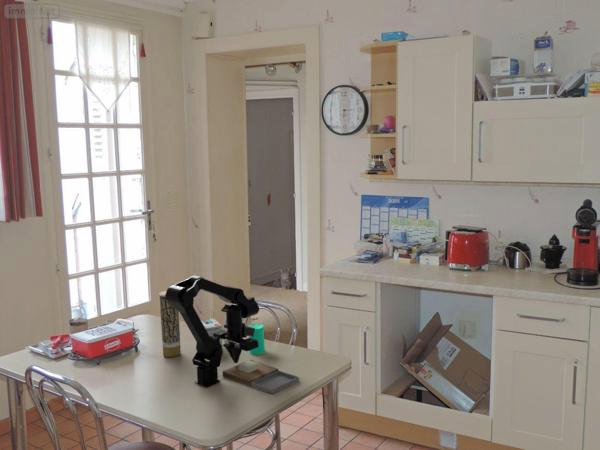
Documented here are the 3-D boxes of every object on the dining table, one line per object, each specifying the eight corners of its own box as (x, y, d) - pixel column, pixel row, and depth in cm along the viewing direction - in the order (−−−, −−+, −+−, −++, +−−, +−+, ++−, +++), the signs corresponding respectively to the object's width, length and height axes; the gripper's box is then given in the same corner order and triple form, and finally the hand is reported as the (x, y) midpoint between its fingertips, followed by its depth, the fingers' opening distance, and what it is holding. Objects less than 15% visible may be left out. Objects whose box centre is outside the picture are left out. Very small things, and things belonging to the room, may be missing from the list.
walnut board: (250, 386, 214) (249, 381, 214) (222, 376, 223) (222, 371, 223) (278, 373, 224) (278, 368, 224) (251, 364, 233) (250, 359, 233)
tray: (271, 394, 207) (271, 389, 207) (251, 386, 214) (250, 382, 214) (299, 381, 217) (298, 377, 217) (278, 374, 224) (278, 370, 224)
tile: (248, 373, 221) (248, 367, 220) (238, 369, 224) (238, 364, 223) (258, 368, 224) (258, 363, 224) (248, 365, 227) (248, 360, 227)
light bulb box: (199, 346, 255) (198, 320, 253) (215, 343, 258) (214, 318, 256) (206, 354, 245) (205, 327, 243) (223, 351, 248) (222, 325, 246)
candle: (265, 349, 249) (264, 320, 248) (263, 354, 244) (262, 324, 242) (250, 348, 250) (249, 319, 248) (248, 354, 244) (247, 324, 242)
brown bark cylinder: (176, 358, 242) (173, 295, 238) (160, 357, 243) (156, 294, 239) (183, 352, 248) (180, 290, 244) (167, 351, 250) (163, 290, 246)
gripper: (268, 320, 226) (269, 362, 228) (233, 311, 238) (234, 350, 240) (246, 328, 217) (247, 371, 220) (210, 318, 229) (212, 359, 232)
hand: (236, 362), depth 228 cm, fingers closed
